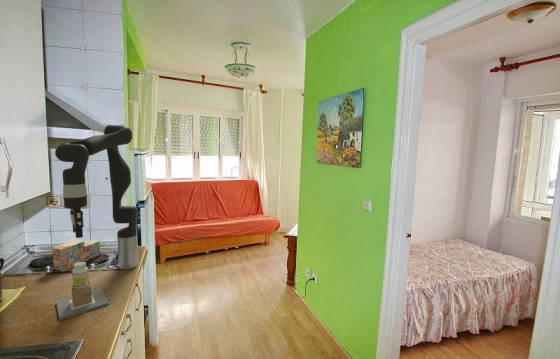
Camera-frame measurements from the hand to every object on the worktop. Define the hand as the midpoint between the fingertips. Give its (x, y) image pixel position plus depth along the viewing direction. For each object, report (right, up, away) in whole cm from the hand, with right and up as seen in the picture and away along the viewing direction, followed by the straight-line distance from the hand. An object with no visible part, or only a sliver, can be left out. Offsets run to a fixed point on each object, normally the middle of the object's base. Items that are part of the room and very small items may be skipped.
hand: (77, 234), depth 112 cm
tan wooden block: (-1, -29, +4) cm, 29 cm away
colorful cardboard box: (-30, -24, +42) cm, 57 cm away
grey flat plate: (-1, -30, +4) cm, 30 cm away
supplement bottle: (-1, -22, +3) cm, 22 cm away
